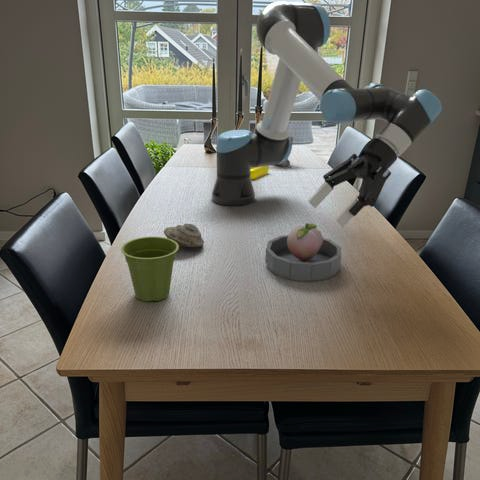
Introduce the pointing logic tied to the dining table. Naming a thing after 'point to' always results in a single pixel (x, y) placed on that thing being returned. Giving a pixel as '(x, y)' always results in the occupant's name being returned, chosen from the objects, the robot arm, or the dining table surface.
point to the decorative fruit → (305, 241)
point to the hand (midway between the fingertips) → (324, 213)
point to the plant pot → (150, 266)
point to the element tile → (258, 172)
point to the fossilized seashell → (185, 235)
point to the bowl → (299, 270)
